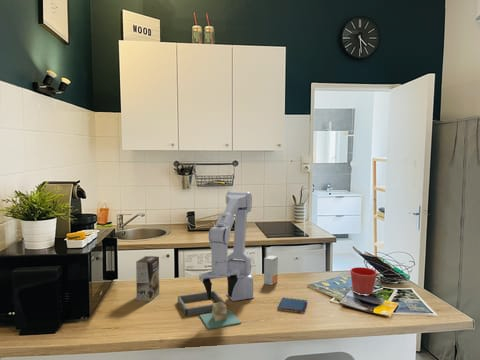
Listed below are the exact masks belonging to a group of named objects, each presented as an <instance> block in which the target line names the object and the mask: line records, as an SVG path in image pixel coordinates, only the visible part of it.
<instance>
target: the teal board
mask: <svg viewBox="0 0 480 360" xmlns="http://www.w3.org/2000/svg"><path fill="white" fill-rule="evenodd" d="M199 318H200V319H201V321H202V322H203V324H204V326H205V327H206V328H207V330H214V329H219V328H224V327H230V326H236V325H241V324H242V321H240V319H239V318H238V316H236V314H234V312H233V311H232V310H231V309H228V310H227V320H221V321H215V320H214V318H213V315H212V312H208V313H202V314H199Z"/></svg>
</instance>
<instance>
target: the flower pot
mask: <svg viewBox="0 0 480 360" xmlns="http://www.w3.org/2000/svg"><path fill="white" fill-rule="evenodd" d="M350 278H351V286H352V287H351V288H352V292H353V291H355V292H357V293H360V294H372V295H373V292H374V290H375V289H374V288H375V284H376V280H377V271H376V270H374V269H372V268H369V267H359V266H357V267H352V268H351V269H350Z"/></svg>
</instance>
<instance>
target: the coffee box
mask: <svg viewBox="0 0 480 360" xmlns="http://www.w3.org/2000/svg"><path fill="white" fill-rule="evenodd" d="M135 262H136V263H135V264H136V267H135V268H136V269H135V270H136V271H135V272H136V278H135V279H136V300H137V301H144V302H145V301H146V302H151V301H152V300H154V299H155V297H157V296H158V295H159V294H160V256H155V255H154V256H153V255H149V256H146V255H144V257H142V258H140V259H138V260H137V261H135Z"/></svg>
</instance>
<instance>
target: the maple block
mask: <svg viewBox="0 0 480 360" xmlns="http://www.w3.org/2000/svg"><path fill="white" fill-rule="evenodd" d="M211 304H212V312H211V313H212V315H213V318H214V320H215V321H221V320H227V305H226V303H225V304H224V303H223V302H219V303H218V302H213V303H211Z"/></svg>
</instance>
